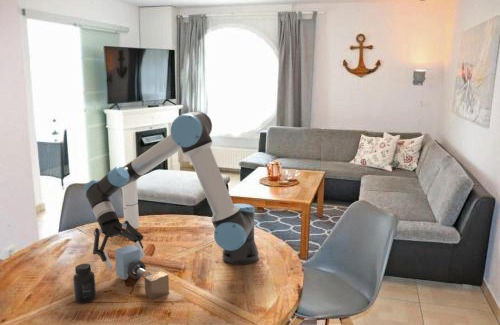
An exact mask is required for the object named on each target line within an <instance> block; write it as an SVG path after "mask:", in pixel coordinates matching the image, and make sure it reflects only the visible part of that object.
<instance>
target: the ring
mask: <svg viewBox="0 0 500 325" xmlns="http://www.w3.org/2000/svg"><path fill="white" fill-rule="evenodd" d="M138 264H140V268H142V269H144V270H146V264H145V263H144V262H142V260H140V261H139V260H135V261H132V262H131V263H130V265H129V266H128V268H127V271H128V277H131V278H133V279H139V278H142V277H141V276H140V275H138V274H135V273H134V272H133V271H132V270H133V268H134V267H135V265H138Z"/></svg>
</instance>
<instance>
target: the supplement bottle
mask: <svg viewBox="0 0 500 325" xmlns="http://www.w3.org/2000/svg"><path fill="white" fill-rule="evenodd" d="M74 268H75V270H74V272H75V274H74V275H73V277H72V281H73V291H74V293H73V294H74V300H75V302H76V303H78V304H87V303H90V302H93V301H95V299H96V297H97V289H96V280H95V276H96V275H95V273H94V272H93V271H92V269H91V264H89V263H80V264H77V265H76V266H75V267H74Z"/></svg>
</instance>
